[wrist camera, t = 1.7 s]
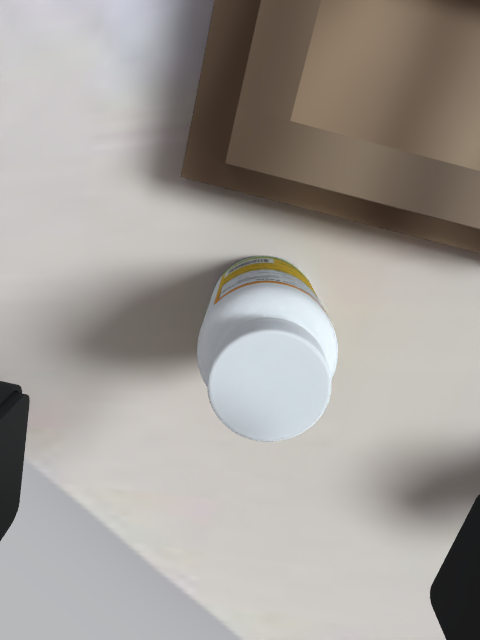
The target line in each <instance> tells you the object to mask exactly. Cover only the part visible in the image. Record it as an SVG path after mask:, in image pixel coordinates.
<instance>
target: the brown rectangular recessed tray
mask: <svg viewBox="0 0 480 640" xmlns="http://www.w3.org/2000/svg"><path fill="white" fill-rule="evenodd" d="M181 177H184V178H188V179H192V180H196V181H200V182H204V183H208V184H212V185H215V186H219V187H223V188H227V189H231V190H235V191H239V192H243V193H247V194H251V195H255V196H259V197H262V198H266V199H270V200H274V201H278V202H282V203H286V204H290V205H294V206H298V207H302V208H306V209H309V210H313V211H317V212H321V213H325V214H329V215H333V216H337V217H341V218H345V219H349V220H353V221H356V222H360V223H364V224H368V225H372V226H376V227H380V228H384V229H388V230H392V231H396V232H400V233H403V234H407V235H411V236H415V237H419V238H423V239H427V240H431V241H435V242H439V243H443V244H447V245H450V246H454V247H458V248H462V249H466V250H470V251H474V252H478V253H480V0H215V2H214V7H213V12H212V18H211V23H210V28H209V33H208V38H207V44H206V49H205V54H204V59H203V64H202V70H201V75H200V80H199V85H198V90H197V96H196V101H195V106H194V111H193V116H192V122H191V127H190V132H189V137H188V143H187V148H186V153H185V158H184V163H183V169H182V174H181Z"/></svg>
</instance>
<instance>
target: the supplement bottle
mask: <svg viewBox="0 0 480 640" xmlns="http://www.w3.org/2000/svg"><path fill="white" fill-rule="evenodd" d="M197 359H198V366H199V370H200V373H201V376H202V378H203V380H204V382H205V384H206V386H207V387H208V396H209V400H210V403H211V406H212V408H213V410H214V412H215V413H216V415H217V416H218V418H219V419H220V420H221V421H222V422H223V423H224V424H225V425H226V426H227V427H228V428H229V429H231V430H232V431H234V432H235V433H237V434H239V435H241V436H243V437H246V438H248V439H251V440H256V441H265V442H274V441H281V440H286V439H289V438H292V437H295V436H297V435H299V434H301V433H303V432H304V431H306V430H307V429H309V428H310V427H311V426H312V425H314V423H315V422H316V421H317V420H318V419H319V418H320V417H321V415H322V414H323V412H324V410H325V409H326V407H327V404H328V402H329V398H330V394H331V379H332V377H333V375H334V372H335V369H336V364H337V359H338V344H337V338H336V334H335V331H334V328H333V326H332V323H331V321H330V319H329V317H328V315H327V313H326V311H325V310H324V308H323V306H322V305H321V303H320V301H319V299H318V297H317V295H316V294H315V292H314V290H313V288H312V286H311V284H310V283H309V281H308V279H307V278H306V277H305V275H304V274H303V273H302V272H301V271H300V270H299V269H298V268H297V267H295V266H294V265H293V264H291V263H289V262H288V261H286V260H283V259H281V258H278V257H272V256H254V257H249V258H246V259H243V260H241V261H239V262H237V263H235V264H234V265H232V266H231V267H230V268H229V269H228V270H226V271H225V272H224V274H223V275H222V276H221V277H220V279H219V280H218V282H217V284H216V286H215V288H214V291H213V293H212V296H211V299H210V302H209V306H208V308H207V311H206V314H205V317H204V320H203V323H202V326H201V329H200V333H199V338H198V344H197Z"/></svg>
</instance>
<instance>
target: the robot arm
mask: <svg viewBox="0 0 480 640" xmlns="http://www.w3.org/2000/svg"><path fill="white" fill-rule="evenodd" d="M28 412H29V396H28V395H26V394H22V389H21V387H20V386H19V385H16V384H12V383H7V382H2V381H0V541H1V539H2V537H3V536H4V535H5V533H6V532H7V530H8V529H9V527H10V526H11V524H12V522H13V520H14V518H15V516H16V513H17V511H18V507H19V501H20V491H21V481H22V471H23V461H24V451H25V441H26V432H27V422H28ZM430 599H431V604H432V607H433V610H434V612H435V614H436V617H437V619H438V621H439V624H440V626H441V628H442V631H443V633H444V635H445V638H446V640H480V495H478V497H477V498H476V500H475V502H474V504H473V506H472V508H471V510H470V512H469V514H468V515H467V517H466V519H465V521H464V523H463V525H462V527H461V529H460V531H459V533H458V535H457V537H456V539H455V541H454V543H453V545H452V547H451V549H450V551H449V552H448V554H447V556H446V558H445V560H444V562H443V564H442V566H441V568H440V570H439V572H438V574H437V576H436V578H435V580H434V582H433V584H432V586H431V590H430Z"/></svg>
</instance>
